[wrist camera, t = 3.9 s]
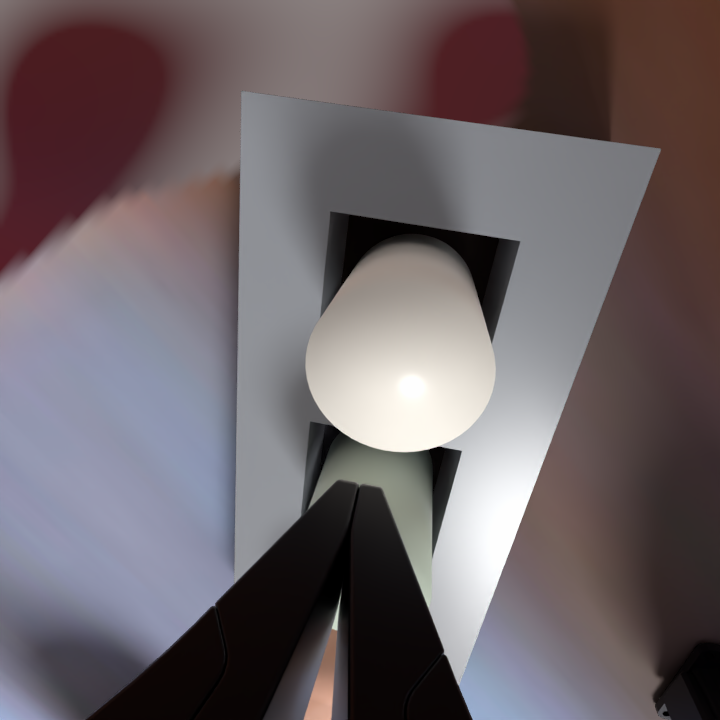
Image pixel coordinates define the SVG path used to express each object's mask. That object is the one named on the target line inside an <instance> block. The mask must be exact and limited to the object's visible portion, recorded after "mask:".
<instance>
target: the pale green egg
mask: <svg viewBox="0 0 720 720" xmlns="http://www.w3.org/2000/svg"><path fill="white" fill-rule="evenodd" d="M340 479H341V480H347V481H352V482H357V483H358V484H359V487H360V485H361V484H369V485H374V486H379V487H381V488H382V489H383V491H384V493H385V496H386V499H387V501H388V504H389V506H390V509H391V512H392V514H393V517H394V519H395V522H396V525H397V527H398V530H399V533H400V535H401V538H402V540H403V543H404V546H405V548H406V551H407V554H408V556H409V559H410V561H411V564H412V567H413V569H414V572H415V574H416V577H417V580H418V582H419V585H420V588H421V590H422V593H423V595H424V598H425V601H426V603H427V606H428V608H429V606H430V603H431V598H432V489H433V464H432V458H431V455H430V452H429V450H428V449H427V450H422V451H415V452H392V451H385V450H381V449H377V448H373V447H370V446H367V445H365V444H362V443H360V442H358V441H356V440H354V439H352V438H350V437H349V436H347V435H346V434H344V433H343V432H340V433H339V434H338V435H337V436H336V438H335V439H334V440H333V442H332V444H331V446H330V449H329V451H328V454H327V457H326V460H325V463H324V466H323V468H322V471H321V474H320V477H319V480H318V483H317V486H316V488H315V491H314V494H313V497H312V500H311V503H310V505H309V508H310V507H311V506H312V505H313V504H314V503H315V502H316V501H317V500H318V499H319V498H320V497H321V496H322V495H323V494H324V493H325V492H326V491H327V490H328V489H329V488H330V487H331V486H332V485H333V484H334V483H335V482H336V481H337V480H340ZM309 508H308V509H309ZM340 598H341V596H340ZM339 605H340V601H339ZM339 605H338V609H337V613H336V616H335V620H334V623H333V626H332V629H334V630H337V626H338V614H339Z"/></svg>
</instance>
